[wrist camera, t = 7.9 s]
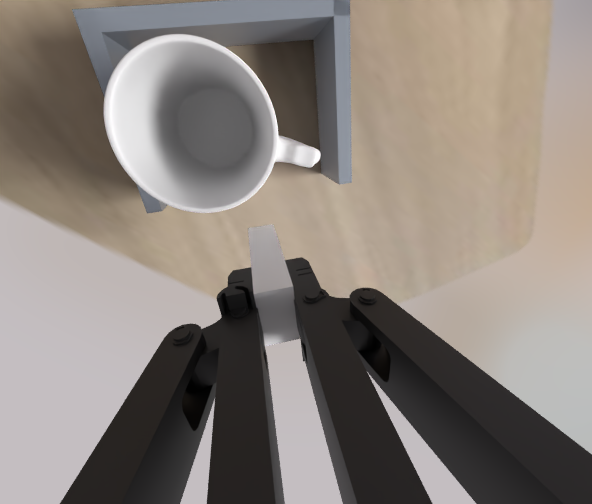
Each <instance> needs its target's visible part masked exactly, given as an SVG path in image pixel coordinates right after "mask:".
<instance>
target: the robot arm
mask: <svg viewBox="0 0 592 504" xmlns="http://www.w3.org/2000/svg"><path fill="white" fill-rule="evenodd" d="M248 234H249V245H250V257H251V267H250V268H245V269H239V270H234V271H232V272H231V274H230V275H229V277H228V287H227V288H225V289H223V290H222V291H221V292H220V293H219V294H218V296H217V302H218V305H219V308H220V311H221V315H222V318H221V319H220V320H219V321H217V322H216V323H214V324H212V325H210V326H208V327H206V328H203V329H201V327H200V326H198V325H196V324H186V325H181V326H179V327H177V328H175V329H174V330H172V331H171V332H169V333H168V334H167V336H166V337H165V338H164V340H163V341H162V343H161V344H160V346H159V347H158V349H157V351H156V352H155V354H154V355H153V357H152V359H151V360H150V362H149V363H148V365H147V366H146V368H145V370H144V371H143V373H142V374H141V376H140V378H139V379H138V381H137V382H136V384H135V386H134V387H133V389H132V390H131V392H130V393H129V395H128V397H127V398H126V400H125V402H124V403H123V405H122V406H121V408H120V409H119V411H118V413H117V414H116V416H115V417H114V419H113V420H112V422H111V424H110V425H109V427H108V428H107V430H106V432H105V433H104V435H103V436H102V438H101V440H100V441H99V443H98V444H97V446H96V447H95V449H94V451H93V452H92V454H91V455H90V457H89V458H88V460H87V462H86V463H85V465H84V466H83V468H82V470H81V471H80V473H79V475H78V476H77V478H76V479H75V481H74V482H73V484H72V485H71V487H70V489H69V490H68V492H67V493H66V495H65V497H64V498H63V500H62V501H61V503H60V504H180V502H181V499H182V496H183V493H184V489H185V487H186V483H187V481H188V478H189V474H190V471H191V468H192V465H193V462H194V459H195V456H196V453H197V450H198V447H199V444H200V441H201V438H202V435H203V432H204V429H205V426H206V423H207V420H208V417H209V414H210V411H211V407H212V404H213V401H214V398H215V407H214V419H213V432H212V445H211V458H210V470H209V483H208V495H207V504H285V502H284V494H283V487H282V478H281V470H280V461H279V453H278V445H277V436H276V428H275V420H274V413H273V403H272V396H271V387H270V379H269V370H268V362H267V355H266V350H265V346H268V345H273V344H277V343H282V342H287V341H291V340H296V339H301V347H302V355H303V361H305V363H306V366H307V370H308V374H309V378H310V381H311V385H312V389H313V393H314V396H315V400H316V404H317V407H318V412H319V415H320V419H321V423H322V426H323V430H324V434H325V438H326V442H327V445H328V449H329V453H330V457H331V460H332V463H333V467H334V471H335V475H336V479H337V483H338V486H339V490H340V494H341V498H342V502H343V504H432V502H431V500H430V498H429V496H428V494H427V492H426V490H425V488H424V486H423V484H422V482H421V480H420V478H419V476H418V474H417V472H416V470H415V468H414V466H413V464H412V462H411V460H410V458H409V456H408V454H407V452H406V450H405V448H404V446H403V443H402V442H401V439H400V437H399V435H398V433H397V431H396V429H395V427H394V425H393V423H392V421H391V419H390V417H389V415H388V413H387V411H386V409H385V407H384V405H383V403H382V401H381V399H380V397H379V395H378V393H377V391H376V389H375V387H374V385H373V383H372V381H371V379H370V377H369V375H368V373H369V374H370V375H371V376H372V378H373V379H374V380H375V382H376V383H377V384H378V385H379V386H380V388H381V389H382V390H383V391H384V392H385V393H386V395H387V396H388V397H389V398H390V400H391V401H392V402H393V403H394V404H395V406H396V407H397V408H398V409H399V411H401V413H402V414H403V415H404V416H405V418H406V419H407V420H408V421H409V423H410V424H411V425H412V426H413V427H414V429H415V430H416V431H417V432H418V433H419V434H420V436H421V437H422V438H423V440H424V441H425V442H426V443H427V444H428V446H429V447H430V448H431V449H432V450H433V452H434V453H435V454H436V455H437V456H438V458H439V459H440V460H441V461H442V462H443V464H444V465H445V466H446V467H447V468H448V470H449V471H450V472H451V473H452V475H453V476H454V477H455V478H456V479H457V481H458V482H459V483H460V484H461V485H462V486H463V488H464V489H465V490H466V491H467V493H468V494H469V495H470V496H471V497H472V499H473V500H474V501H475V502H476V503H477V504H592V454H590V453H589V452H588V451H586V450H585V449H584V448H582V447H581V446H580V445H578V444H577V443H576V442H575V441H573V440H572V439H571V438H569V437H568V436H567V435H566V434H564V433H563V432H562V431H560V430H559V429H558V428H556V427H555V426H554V425H553V424H551V423H550V422H549V421H547V420H546V419H545V418H544V417H542V416H541V415H540V414H538V413H537V412H536V411H534V410H533V409H532V408H531V407H529V406H528V405H527V404H525V403H524V402H523V401H521V400H520V399H519V398H518V397H516V396H515V395H514V394H512V393H511V392H510V391H509V390H507V389H506V388H504V387H503V386H502V385H501V384H499V383H498V382H497V381H496V380H494V379H493V378H492V377H490V376H489V375H488V374H486V373H485V372H484V371H483V370H481V369H480V368H479V367H477V366H476V365H475V364H474V363H472V362H471V361H470V360H468V359H467V358H466V357H464V356H463V355H462V354H461V353H459V352H458V351H456V350H455V349H454V348H453V347H451V346H450V345H449V344H448V343H446V342H445V341H444V340H442V339H441V338H440V337H438V336H437V335H436V334H435V333H433V332H432V331H431V330H429V329H428V328H427V327H426V326H424V325H423V324H422V323H420V322H419V321H418V320H416V319H415V318H414V317H413V316H411V315H410V314H409V313H407V312H406V311H405V310H403V309H402V308H401V307H400V306H398V305H397V304H396V303H394V302H393V301H392V300H390V299H389V298H388V297H387V296H385V295H384V294H383V293H381V292H380V291H378V290H376V289H372V288H360V289H356V290H355V291H353V292H352V293H351V295H350V298H335V297H331V296H329V294H328V293H327V292H326V291H325V290H323V289H321V287H320V285H319V283H318V281H317V278H316V276H315V274H314V273H313V270H312V268H311V266H310V264H309V262H308V261H307V260H305V259H304V258H296V259H291V260H285V259H284V256H283V253H282V250H281V247H280V243H279V240H278V237H277V234H276V231H275V228H274V225H273V224H271V225H265V226H259V227H252V228H248ZM299 335H300V337H299ZM367 372H368V373H367Z"/></svg>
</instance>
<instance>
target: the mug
mask: <svg viewBox="0 0 592 504" xmlns="http://www.w3.org/2000/svg"><path fill="white" fill-rule="evenodd" d="M103 112H104V123H105V128H106V132H107V136H108V139H109V142H110V145H111V147H112V149H113V151H114V153H115V155H116V157H117V159H118V161H119V162H120V164H121V166H122V167H123V168H124V170H125V171H126V172H127V174H128V175H129V176H130V177H131V178H132V179H133V181H134V182H135V183H136V184H137V185H138V186H140V187H141V188H142V189H143V190H144V191H146V192H147V193H148V194H150V195H151V196H152V197H154V198H156V199H157V200H159V201H161V202H163V203H165V204H167V205H169V206H172V207H174V208H177V209H180V210H184V211H189V212H196V213H213V212H220V211H224V210H227V209H230V208H233V207H236V206H238V205H240V204H241V203H243V202H245V201H246V200H248V199H249V198H250V197H252V196H253V195H254V194H255V193H256V192H257V191H258V190H259V189H260V188H261V187H262V185H263V184H264V183H265V181H266V180H267V178H268V176H269V174H270V173H271V170H272V168H273V166H274V163H275V162H287V163H292V164H295V165H299V166H303V167H308V168H310V167H313V166H314V164H315V163H317V162H318V161H319V159H320V155H321V153H320V151H319V150H318V149H316V148H314V147H311V146H308V145H305V144H303V143H301V142H298V141H296V140H293V139H290V138H287V137H284V136H280V135H278V126H277V120H276V115H275V111H274V108H273V105H272V103H271V100H270V98H269V95H268V93H267V91H266V90H265V88H264V86H263V84H262V83H261V81H260V80H259V78H258V77H257V76H256V74H255V73H254V72H253V71H252V70H251V68H250V67H249V66H248V65H247V64H246V63H245V62H244V61H243V60H242V59H240V58H239V57H238V56H237V55H235V54H234V53H233V52H231V51H230V50H228V49H227V48H225V47H223V46H222V45H220V44H218V43H215V42H213V41H211V40H208V39H205V38H202V37H198V36H194V35H187V34H169V35H162V36H158V37H154V38H152V39H149V40H147V41H144V42H142V43H141V44H139V45H137V46H136V47H134V48H133V49H132V50H130V51H129V52H128V53H127V54H126V55H125V56H124V57H123V58H122V59H121V61H120V62H119V63H118V65H117V66H116V68H115V69H114V71H113V73H112V75H111V77H110V79H109V82H108V85H107V88H106V92H105V97H104V111H103Z"/></svg>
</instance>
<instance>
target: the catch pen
mask: <svg viewBox="0 0 592 504" xmlns="http://www.w3.org/2000/svg"><path fill="white" fill-rule="evenodd" d="M72 11H73V13H74V16H75V19H76V22H77V24H78V27H79V30H80V32H81V35H82V38H83V41H84V43H85V46H86V49H87V51H88V54H89V57H90V60H91V62H92V65H93V68H94V70H95V73H96V76H97V79H98V81H99V84H100V87H101V89H102V92H103V95H104V97H105V92H106V88H107V85H108V82H109V79H110V77H111V75H112V73H113V71H114V69H115V68H116V66H117V65H118V63H119V62H120V61H121V59H122V58H123V57H124V56H125V55H126V54H127V53H128V52H129V51H130V50H132V49H133V48H134V47H136V46H137V45H139V44H141V43H142V42H144V41H147V40H149V39H152V38H154V37H158V36H162V35H169V34H187V35H194V36H198V37H202V38H205V39H208V40H211V41H213V42H215V43H218V44H220V45H222V46H223V47H227V46H239V45H252V44H264V43H277V42H289V41H302V40H313V41H314V58H315V75H316V92H317V108H318V125H319V142H320V153H321V155H320V159H321V174H323V175H324V176H326V177H328V178H329V179H331V180H333V181H334V182H336V183H338V184H345V183H352V167H351V67H350V0H223V1H206V2H189V3H172V4H155V5H138V6H122V7H105V8H88V9H72ZM137 187H138V190H139V193H140V195H141V198H142V201H143V203H144V206H145V209H146V212H147V213H152V212H159V211H163V209H164V208H165V207H166V206H167V204H165V203H163V202H161V201H159V200H157V199H156V198H154V197H152V196H151V195H150V194H148V193H147V192H146V191H144V190H143V189H142V188H141V187H140V186H138V185H137Z"/></svg>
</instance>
